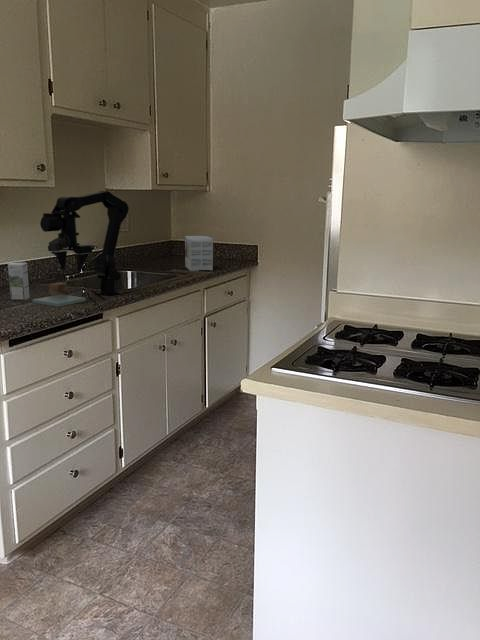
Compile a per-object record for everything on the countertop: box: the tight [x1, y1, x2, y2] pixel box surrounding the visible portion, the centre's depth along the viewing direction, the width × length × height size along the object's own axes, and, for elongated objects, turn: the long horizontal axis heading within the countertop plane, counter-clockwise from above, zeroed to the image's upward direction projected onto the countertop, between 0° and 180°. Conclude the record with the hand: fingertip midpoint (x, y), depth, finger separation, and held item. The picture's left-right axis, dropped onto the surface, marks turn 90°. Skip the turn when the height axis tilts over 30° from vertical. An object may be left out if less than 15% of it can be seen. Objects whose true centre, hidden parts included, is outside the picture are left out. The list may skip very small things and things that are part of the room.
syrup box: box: [7, 261, 30, 301], centre depth 218 cm, size 6×6×14 cm
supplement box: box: [184, 235, 214, 272], centre depth 314 cm, size 17×13×18 cm
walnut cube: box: [48, 282, 68, 296], centre depth 228 cm, size 5×5×5 cm
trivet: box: [32, 294, 87, 308], centre depth 215 cm, size 14×14×1 cm
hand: (71, 270), depth 217 cm, fingers open, 9 cm apart
